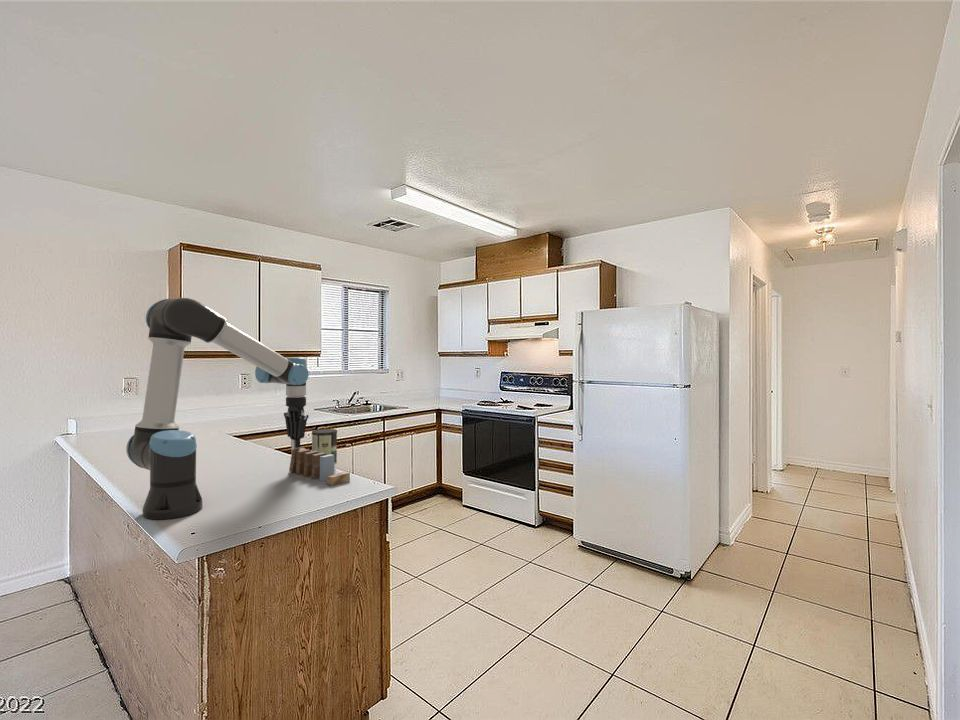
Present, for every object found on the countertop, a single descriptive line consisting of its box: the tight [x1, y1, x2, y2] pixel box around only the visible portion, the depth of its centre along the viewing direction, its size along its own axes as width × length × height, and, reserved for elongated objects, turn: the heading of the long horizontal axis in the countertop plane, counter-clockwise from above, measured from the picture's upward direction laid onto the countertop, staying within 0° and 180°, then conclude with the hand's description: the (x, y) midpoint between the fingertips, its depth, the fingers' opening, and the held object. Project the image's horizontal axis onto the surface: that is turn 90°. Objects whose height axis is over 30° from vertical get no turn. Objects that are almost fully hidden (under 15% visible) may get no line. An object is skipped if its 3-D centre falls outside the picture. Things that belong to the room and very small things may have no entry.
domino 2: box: [295, 448, 312, 476], centre depth 190 cm, size 2×5×9 cm, turn 145°
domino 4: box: [311, 453, 326, 480], centre depth 185 cm, size 2×5×9 cm, turn 145°
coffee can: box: [311, 428, 338, 466], centre depth 207 cm, size 10×10×14 cm
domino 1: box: [288, 447, 306, 474], centre depth 193 cm, size 2×5×9 cm, turn 146°
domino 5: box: [319, 454, 335, 482], centre depth 182 cm, size 2×5×9 cm, turn 145°
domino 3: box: [303, 450, 318, 478], centre depth 188 cm, size 2×5×9 cm, turn 145°
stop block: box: [326, 471, 351, 486], centre depth 179 cm, size 8×3×3 cm, turn 145°
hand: (295, 455), depth 193 cm, fingers closed
